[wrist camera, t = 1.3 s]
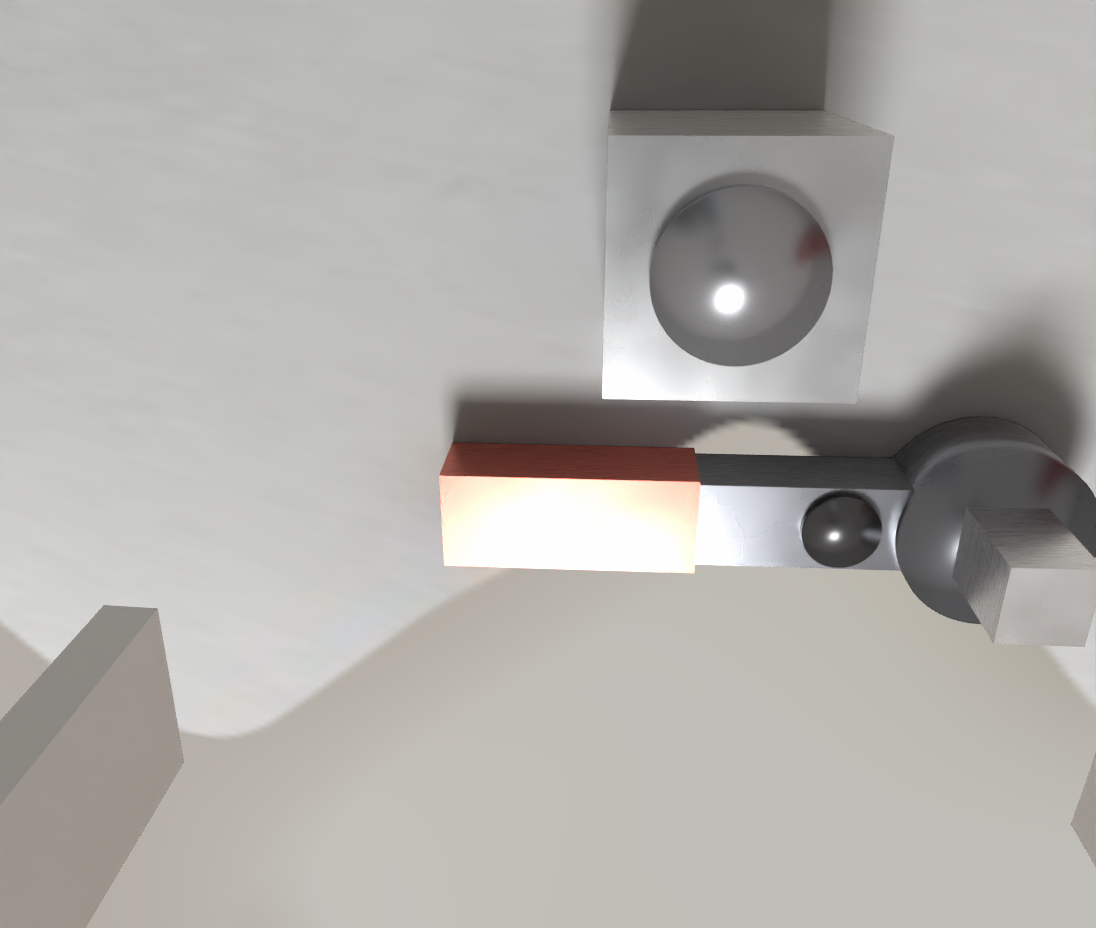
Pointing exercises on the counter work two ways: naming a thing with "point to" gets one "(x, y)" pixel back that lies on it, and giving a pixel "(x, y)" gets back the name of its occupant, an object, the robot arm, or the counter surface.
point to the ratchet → (801, 518)
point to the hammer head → (740, 254)
